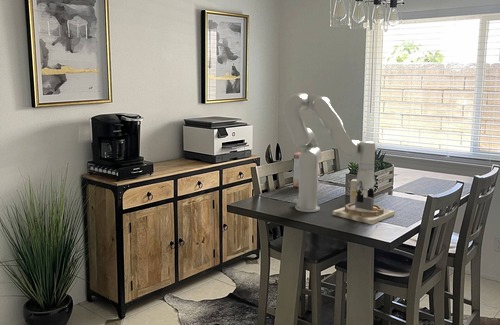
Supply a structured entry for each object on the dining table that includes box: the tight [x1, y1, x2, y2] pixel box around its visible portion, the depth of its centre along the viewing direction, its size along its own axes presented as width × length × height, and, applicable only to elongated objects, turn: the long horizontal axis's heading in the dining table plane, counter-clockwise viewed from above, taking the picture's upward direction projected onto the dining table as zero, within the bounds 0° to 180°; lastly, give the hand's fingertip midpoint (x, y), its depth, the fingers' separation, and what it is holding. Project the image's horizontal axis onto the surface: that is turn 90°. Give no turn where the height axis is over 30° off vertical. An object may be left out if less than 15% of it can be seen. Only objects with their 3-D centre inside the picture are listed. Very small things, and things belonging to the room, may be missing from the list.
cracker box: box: [292, 151, 302, 188], centre depth 308 cm, size 14×6×21 cm, turn 42°
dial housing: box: [332, 202, 396, 225], centre depth 254 cm, size 22×22×4 cm
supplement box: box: [349, 178, 369, 203], centre depth 274 cm, size 8×5×13 cm, turn 56°
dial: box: [350, 195, 378, 211], centre depth 254 cm, size 14×14×7 cm
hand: (365, 200), depth 253 cm, fingers open, 9 cm apart
